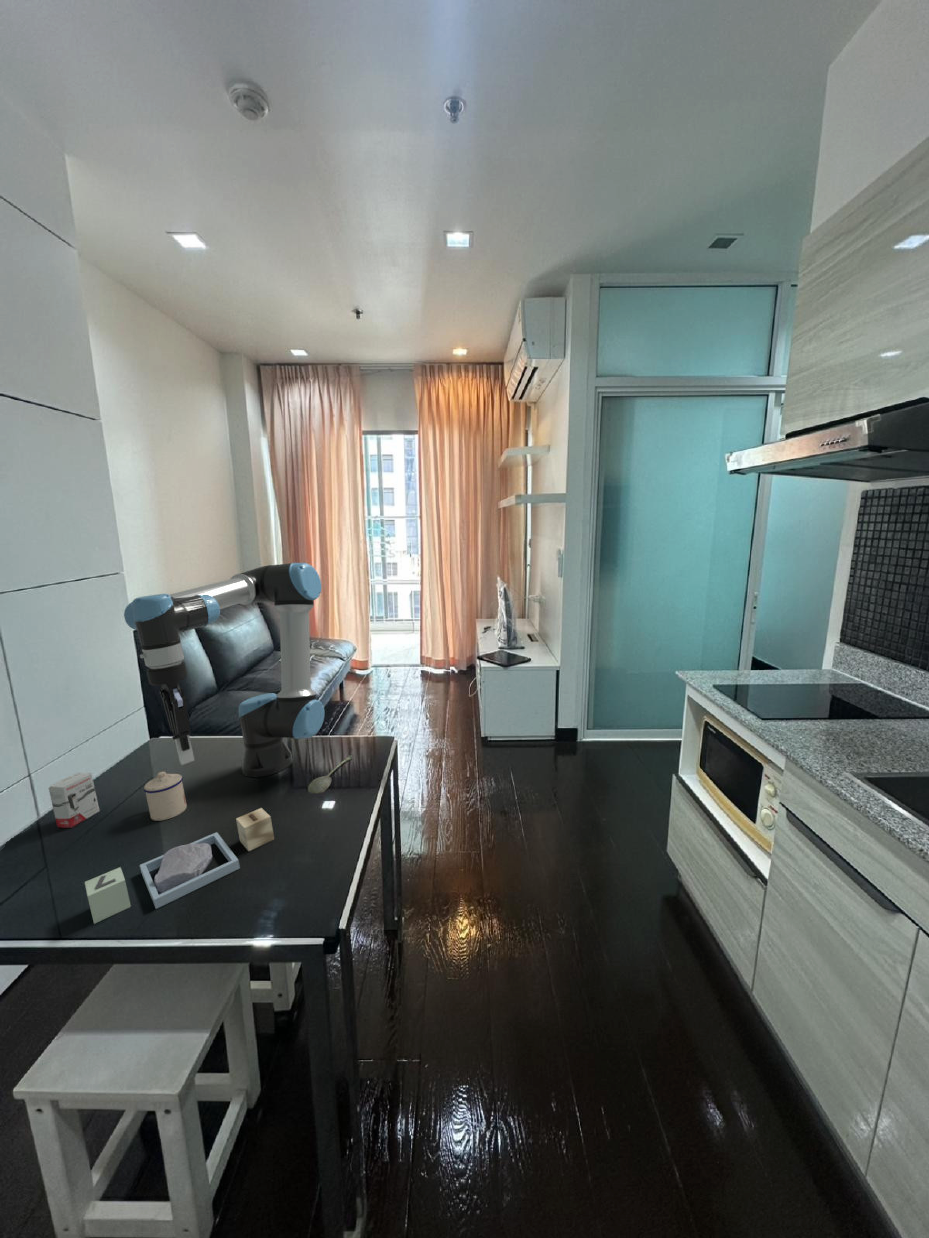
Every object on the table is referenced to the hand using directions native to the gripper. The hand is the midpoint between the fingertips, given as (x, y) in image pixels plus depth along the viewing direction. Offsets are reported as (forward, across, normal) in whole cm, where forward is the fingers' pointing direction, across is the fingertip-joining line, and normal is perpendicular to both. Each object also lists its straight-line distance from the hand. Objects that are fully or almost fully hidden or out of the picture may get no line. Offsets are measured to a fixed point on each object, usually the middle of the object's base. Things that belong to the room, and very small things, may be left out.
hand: (187, 761), depth 114 cm
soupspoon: (+23, -7, +38) cm, 45 cm away
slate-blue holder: (+21, +8, -6) cm, 23 cm away
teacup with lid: (+22, -27, -3) cm, 35 cm away
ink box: (+22, -43, -20) cm, 52 cm away
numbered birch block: (+22, +9, +9) cm, 25 cm away
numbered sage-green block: (+21, +8, -20) cm, 30 cm away
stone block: (+22, +8, -6) cm, 24 cm away
